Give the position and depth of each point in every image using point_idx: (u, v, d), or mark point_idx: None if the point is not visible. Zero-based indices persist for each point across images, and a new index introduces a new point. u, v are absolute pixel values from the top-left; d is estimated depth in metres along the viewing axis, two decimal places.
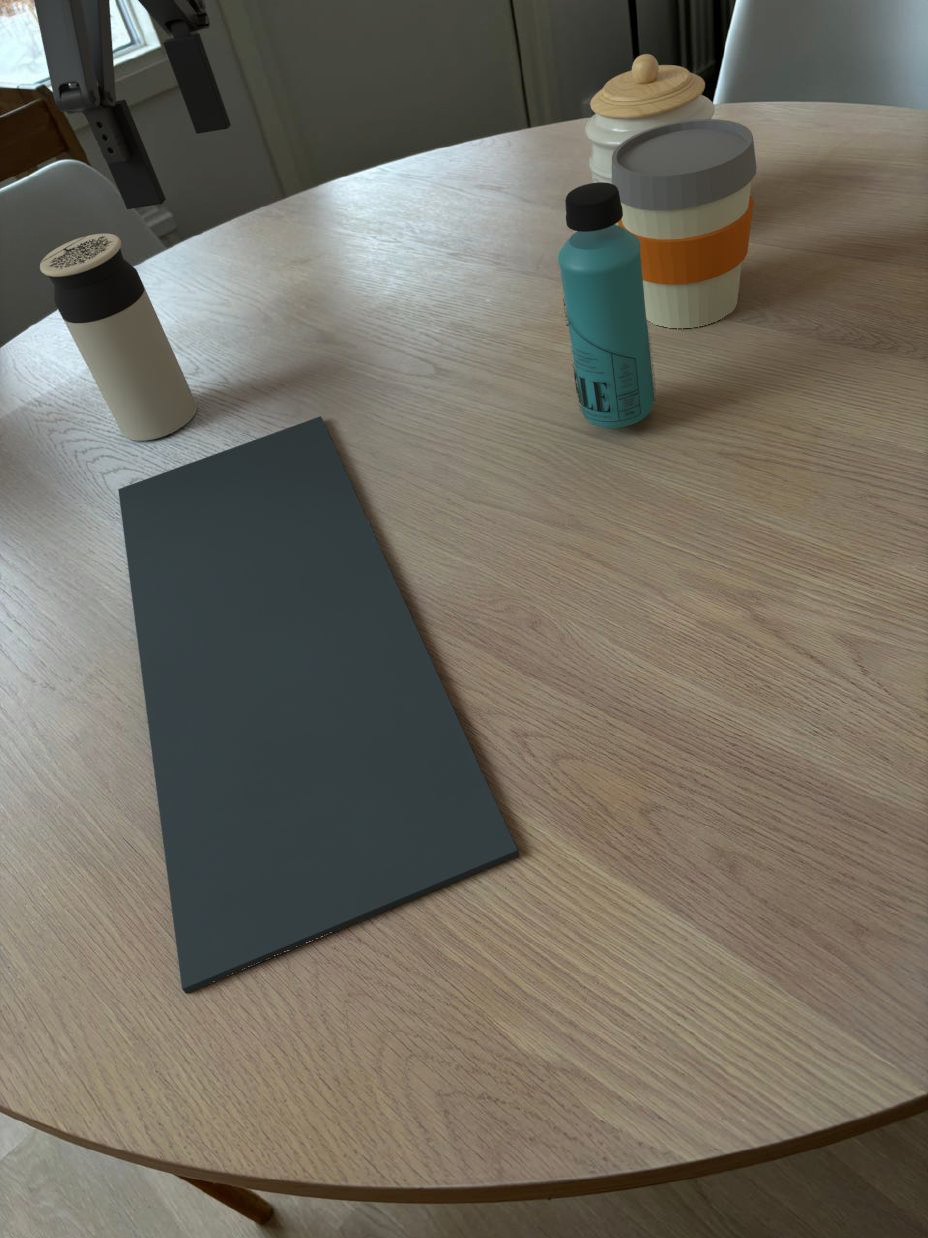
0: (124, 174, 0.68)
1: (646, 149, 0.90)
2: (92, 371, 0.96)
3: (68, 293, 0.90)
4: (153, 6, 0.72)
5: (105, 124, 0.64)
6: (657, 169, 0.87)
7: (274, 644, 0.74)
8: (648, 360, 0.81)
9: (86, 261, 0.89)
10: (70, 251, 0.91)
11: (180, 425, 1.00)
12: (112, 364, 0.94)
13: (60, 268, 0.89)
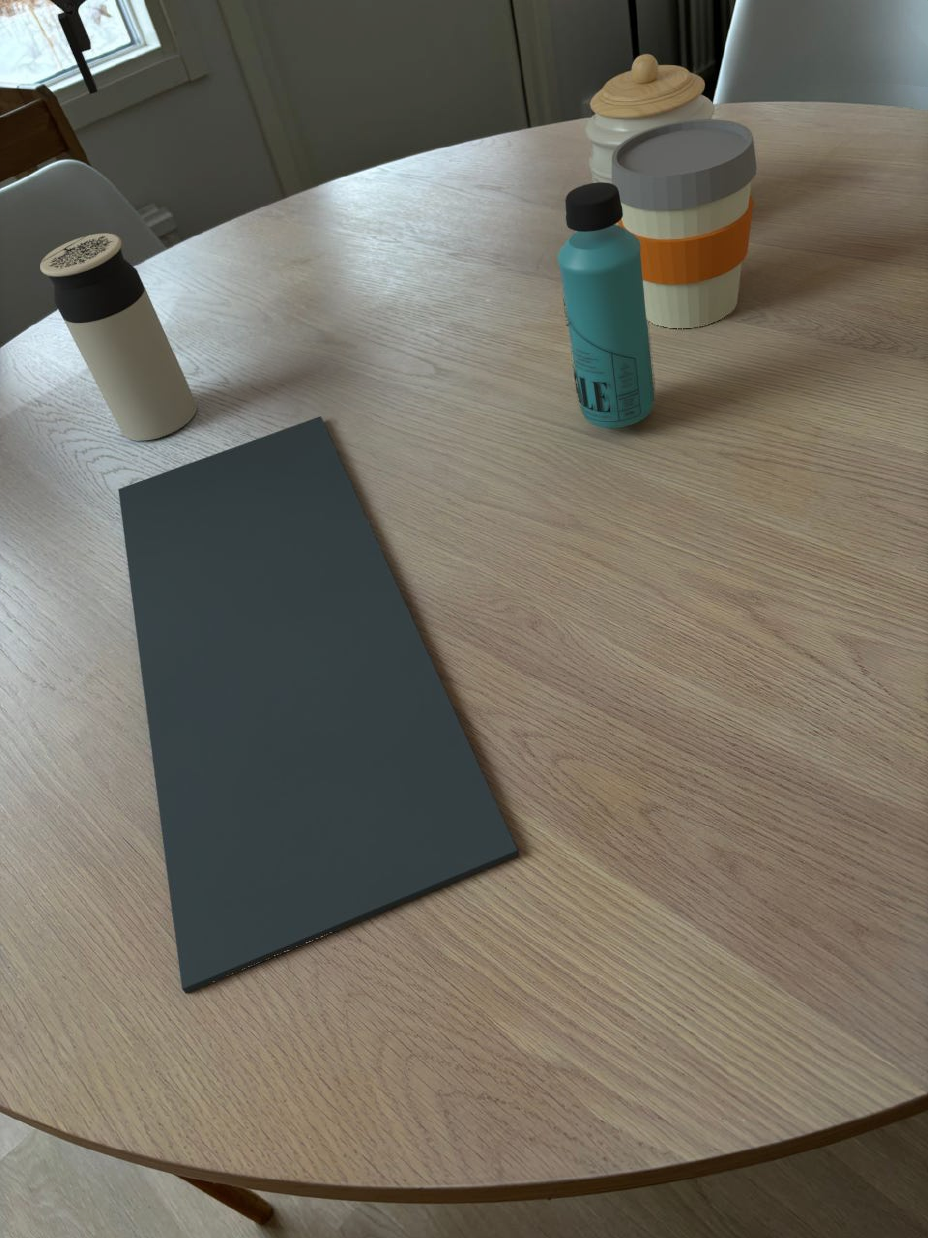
0: None
1: (646, 149, 0.90)
2: (92, 371, 0.96)
3: (68, 292, 0.90)
4: None
5: None
6: (657, 169, 0.87)
7: (274, 644, 0.74)
8: (648, 360, 0.81)
9: (86, 261, 0.89)
10: (70, 251, 0.91)
11: (180, 425, 1.00)
12: (112, 364, 0.94)
13: (60, 268, 0.89)
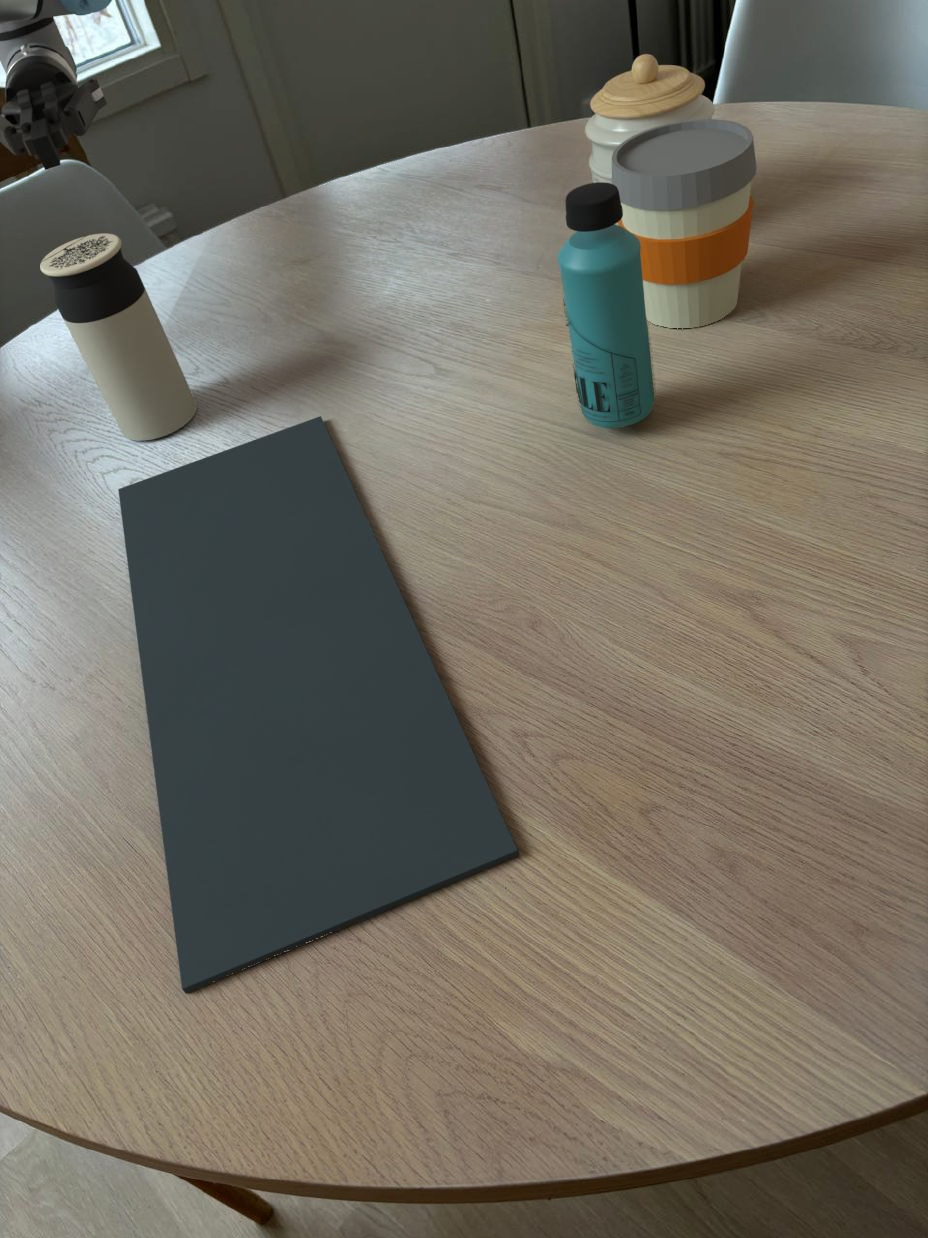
0: None
1: (646, 149, 0.90)
2: (92, 371, 0.96)
3: (68, 292, 0.90)
4: None
5: None
6: (657, 169, 0.87)
7: (274, 644, 0.74)
8: (648, 360, 0.81)
9: (86, 261, 0.89)
10: (70, 251, 0.91)
11: (180, 425, 1.00)
12: (112, 364, 0.94)
13: (60, 268, 0.89)
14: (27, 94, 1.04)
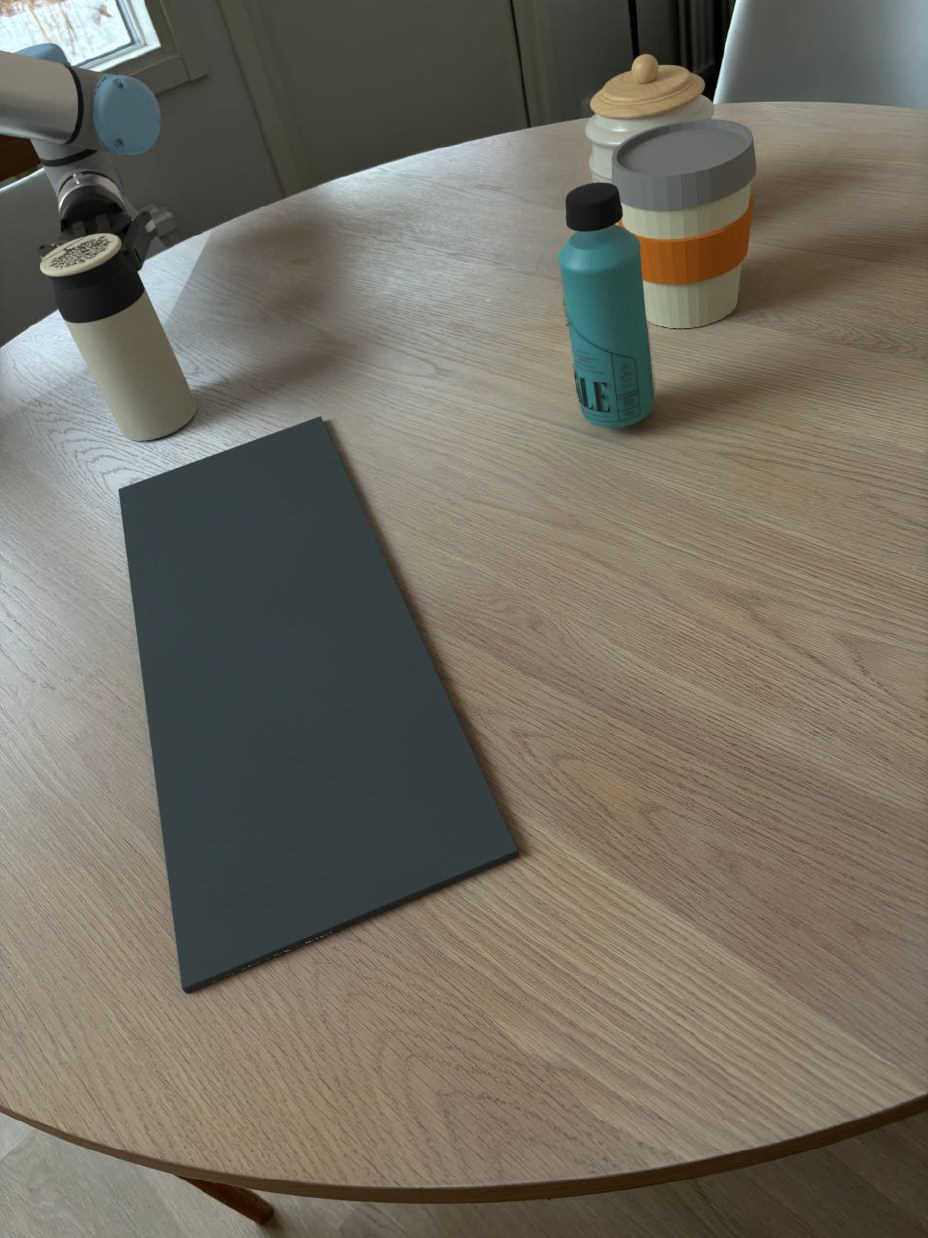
0: None
1: (646, 149, 0.90)
2: (92, 371, 0.96)
3: (68, 292, 0.90)
4: None
5: None
6: (657, 169, 0.87)
7: (274, 644, 0.74)
8: (648, 360, 0.81)
9: (86, 261, 0.89)
10: (70, 251, 0.91)
11: (180, 425, 1.00)
12: (112, 364, 0.94)
13: (60, 268, 0.89)
14: (83, 227, 1.08)
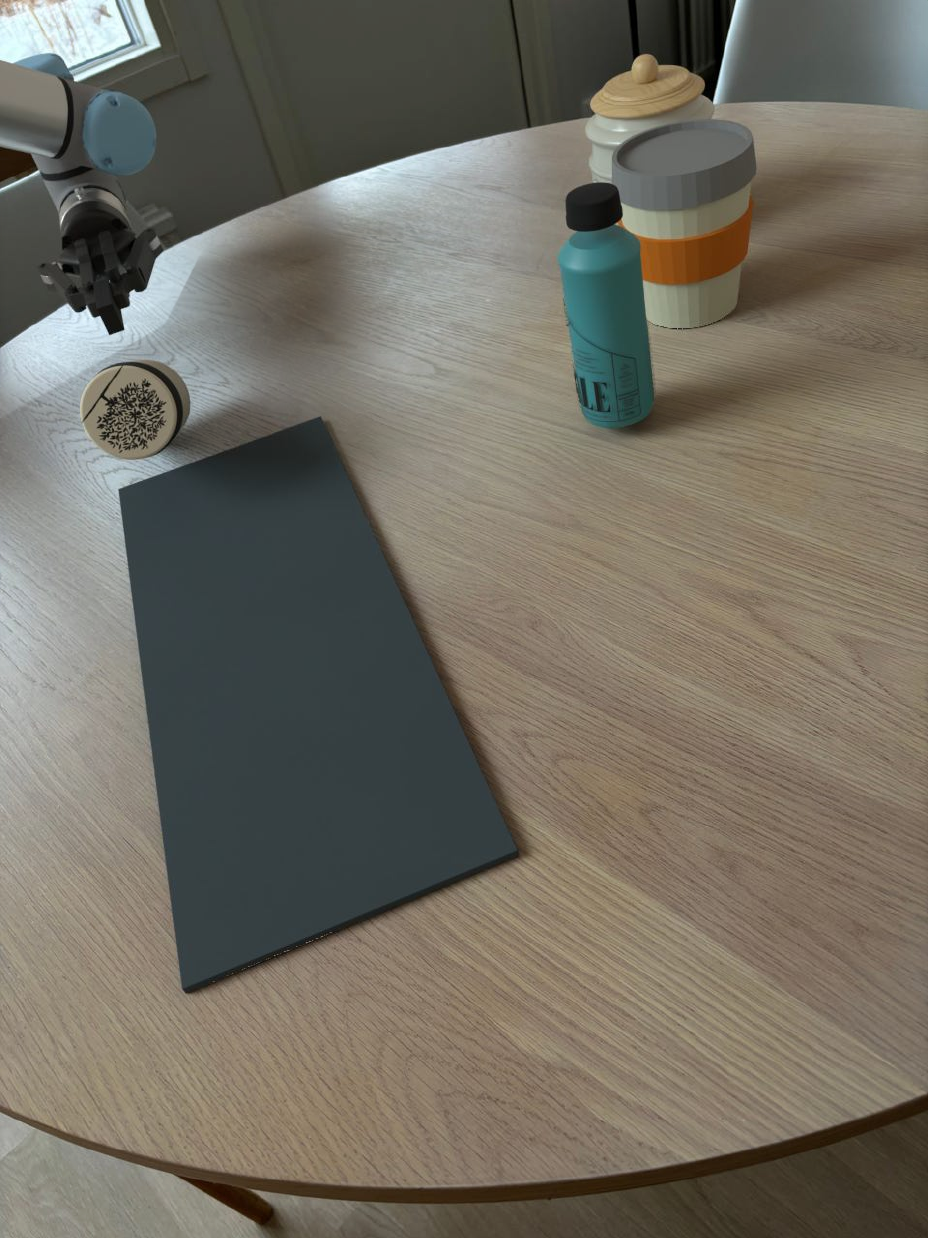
0: None
1: (646, 149, 0.90)
2: None
3: None
4: None
5: None
6: (657, 169, 0.87)
7: (274, 644, 0.74)
8: (648, 360, 0.81)
9: (149, 445, 0.83)
10: (114, 406, 0.81)
11: None
12: None
13: (119, 450, 0.82)
14: (85, 245, 1.04)
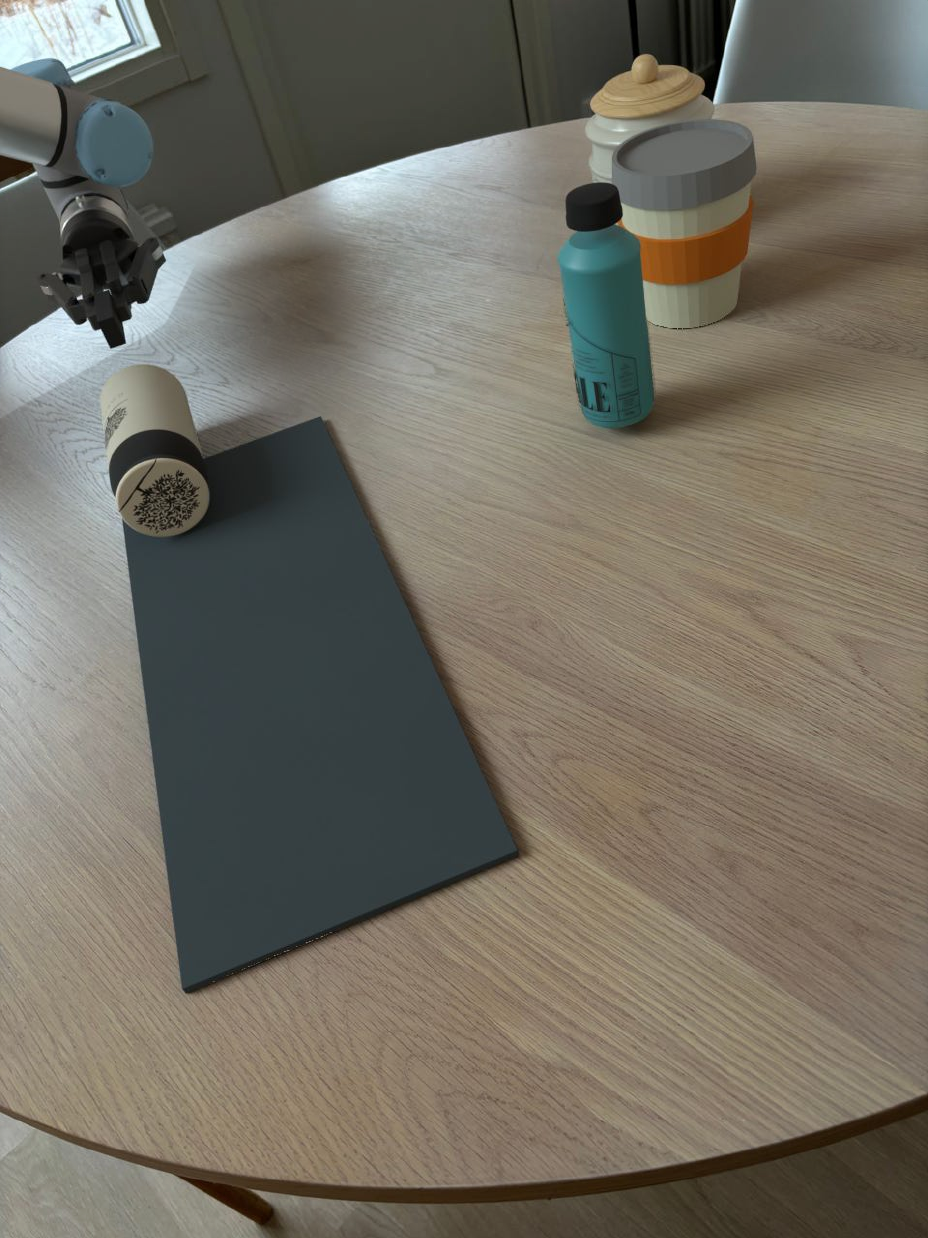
0: None
1: (646, 149, 0.90)
2: None
3: None
4: None
5: (86, 310, 0.95)
6: (657, 169, 0.87)
7: (274, 644, 0.74)
8: (648, 360, 0.81)
9: (184, 524, 0.86)
10: (149, 495, 0.83)
11: None
12: None
13: (156, 530, 0.85)
14: (86, 255, 1.02)
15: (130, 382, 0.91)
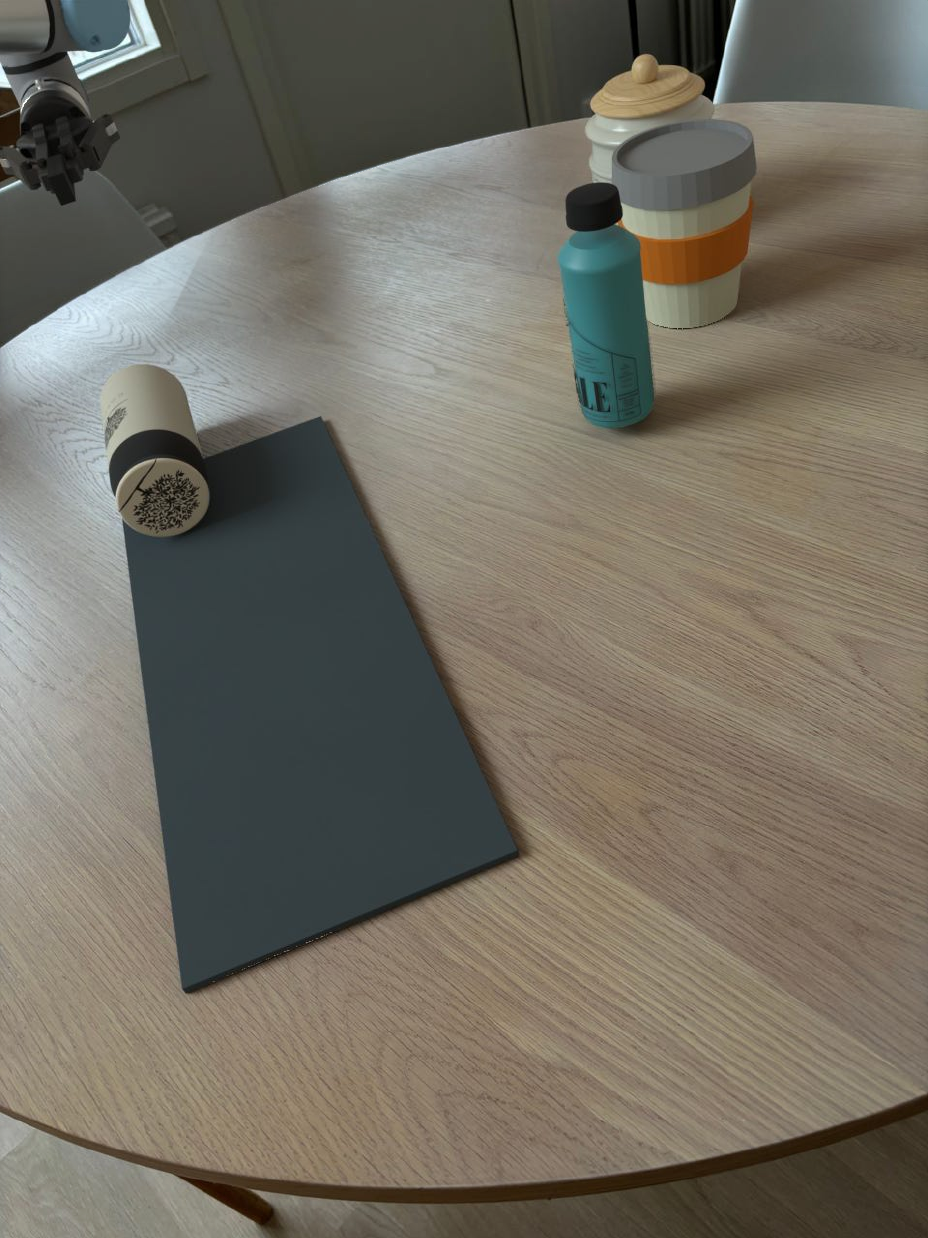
0: None
1: (646, 149, 0.90)
2: None
3: None
4: None
5: None
6: (657, 169, 0.87)
7: (274, 644, 0.74)
8: (648, 360, 0.81)
9: (184, 524, 0.86)
10: (149, 495, 0.83)
11: None
12: None
13: (156, 530, 0.85)
14: (42, 129, 1.06)
15: (130, 382, 0.91)
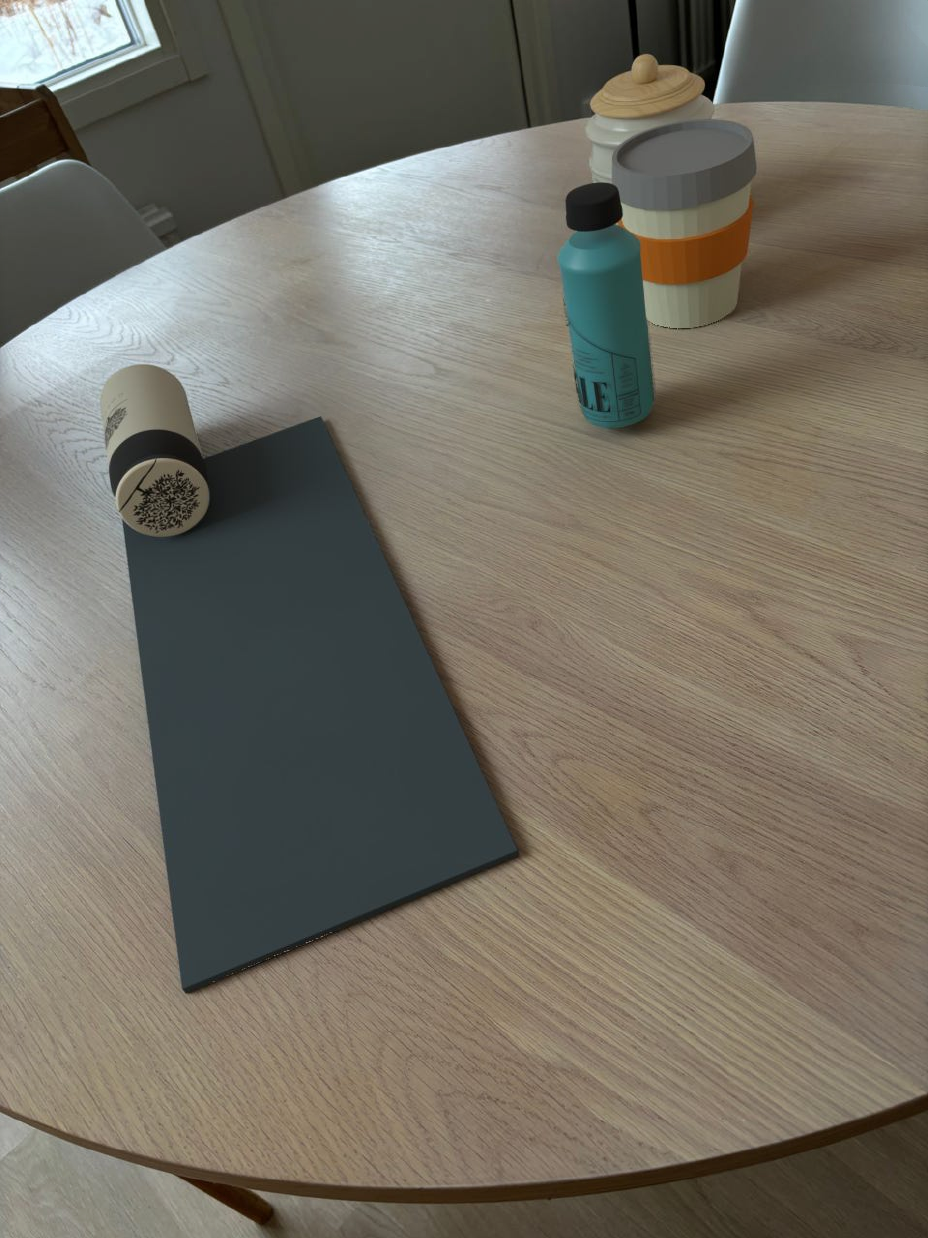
0: None
1: (646, 149, 0.90)
2: None
3: None
4: None
5: None
6: (657, 169, 0.87)
7: (274, 644, 0.74)
8: (648, 360, 0.81)
9: (184, 524, 0.86)
10: (149, 495, 0.83)
11: None
12: None
13: (156, 530, 0.85)
14: None
15: (130, 382, 0.91)
